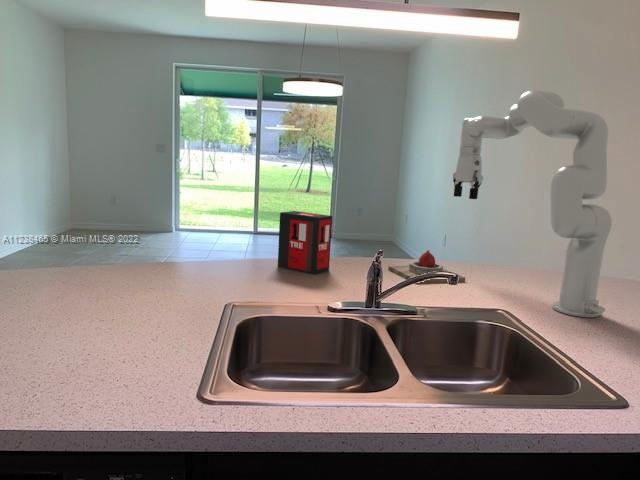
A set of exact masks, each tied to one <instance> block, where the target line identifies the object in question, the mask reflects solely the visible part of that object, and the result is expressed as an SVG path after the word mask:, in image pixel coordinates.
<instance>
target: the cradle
mask: <svg viewBox="0 0 640 480" xmlns="http://www.w3.org/2000/svg"><path fill="white" fill-rule="evenodd" d="M387 270H388V271H390V272H391V273H394V274H396V275H398V276H400V277H401V278H404V279H406V280H407V278H410V277H413V276H417V275H421V274H424V273H428V272H433V271H450V270H448V269H445V268H444V265H442V264H440V263H437V262H435V265H434V266H433V268H426V267H420V265H419V260H417V261H411V262H410V263H409V265H408V264H407V265H388V268H387ZM450 272H452V271H450ZM458 275H459V282H458V283H462V282H463V283H465V282H466V277H465V276H463V275H460V274H458ZM436 283H437V284H440V283H448V282H447V279H430V280H426V281H424V282H420V283H419V284H436ZM416 284H418V283H416Z"/></svg>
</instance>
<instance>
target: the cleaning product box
mask: <svg viewBox="0 0 640 480" xmlns="http://www.w3.org/2000/svg"><path fill="white" fill-rule="evenodd" d="M332 224H333V215H329V214H320V213H313V212H305V211H296V210H291V211H283V212H279V228H278V229H279V230H278V253H277V268H281V269H285V270H291V271H296V272H300V273H305V274H308V275H314V276H316V275H319V274H323V273H326V272H329V271H330V262H331V261H330V260H331V259H330V257H331V243H332V227H333V225H332Z"/></svg>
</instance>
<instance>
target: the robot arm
mask: <svg viewBox="0 0 640 480" xmlns="http://www.w3.org/2000/svg"><path fill="white" fill-rule="evenodd" d="M530 127H533V128H534V129H535V130H537V131H538V132H539V133H541V134H543V135H544V136H547V137H550V138H553V139H554V138H555V139H556V138H558V139H564V140H566V139H567V140H568V139H569V140H575V141H576V140H577V142H576V144H575V146H574V149H573V154H572V164H569V165H565V166H562V167H560V168H559V169H558V170H557V171H556V172H555V173H554V174H553V176H552V179H551V183H550V225H551V229H552V230H553V232H554V233H555V234H556V236H559V237H561V238H563V239H570V240H569V242H568V244H567V247H566V251H565V257H564V264H563V271H562V278H561V285H560V292H559V298H558V301H555V302H552V309H554V310H555V311H557V312H559V313H562V314H565V315H569V316H573V317H578V318H579V317H581V318H597V317H599V316H601V315H603V313H605V311H606V308H605V307H603V306H600V305H599V303H600V300H599V299H597V295H598V289H599V282H600V277H601V270H602V263H603V259H604V258H603V257H604V252H605V247H606V244H607V240H608V238H609V235H610V232H611V229H612V223H613V221H612V215H611V214H610V212H609V210H607V209H606V208H605V207H603V206H601V205H597V204H587V203H586V204H585V203H584V204H583V201H584V200H587V201H588V200H590V201H591V200H596V199H599V198H601V197H602V196H603V195H604V194H605V193H606V189H607V183H608V182H607V181H608V180H607V179H608V178H607V176H608V174H607V173H608V171H607V170H608V168H607V166H608V164H607V163H608V160H607V159H608V156H607V155H608V154H607V153H608V152H607V149H608V139H609V128H608V124H607V122H606V120H605V118H604V117H602V115H600V114H598V113H596V112H593V111H592V112H591V111H588V110H583V109H577V108H576V109H574V108H566V107H565V101H564V99H563V98H562V96H560V94H558V93H556V92H551V91H545V90H537V89H529V90H528V91H526V92H524V93H523V94H521V95H520V97H519V99H518V100H517V103H515V104H513V105H512V106H511V107H510V109H509V112H508V116H506V117H498V116H489V115H488V116H487V115H480V116H479V115H478V116H476V117H465V118H464V119H463V120H462V126H461V136H460V144H459V155H458V159H457V163H456V169H455V170H456V171H455V172H454V173H452V179H453V180H452V181H453V186H454V187H453V188H454V191H453V197H459V198H461V197H462V196H463V195H462V194H463V193H462V192H463V184H464V183H469V184H470V186H471V187H470V188H469V196H468V198H469V199H470V200H478V194H479V189H480V187H481V185H482V182H483V180H484V175H482V168H483V166H482V163H483V162H482V156H481V150H482V141H483V139H492V140H493V139H494V140H495V139H496V140H504V139H509V138H511V137H514V136H517V135H519V134H521V133H522V132H523V131H524V130H525V129H526V128H530Z"/></svg>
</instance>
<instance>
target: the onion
mask: <svg viewBox="0 0 640 480" xmlns="http://www.w3.org/2000/svg"><path fill="white" fill-rule="evenodd" d="M418 261H419V265H420V267H426V268H433V266H434V265H435V263H436V259H435V257H434V254H432V253H431V252H430V250H429V249H428V250H426V251H425V252H423V253H422V254H421V255H420V257H419V259H418Z"/></svg>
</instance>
